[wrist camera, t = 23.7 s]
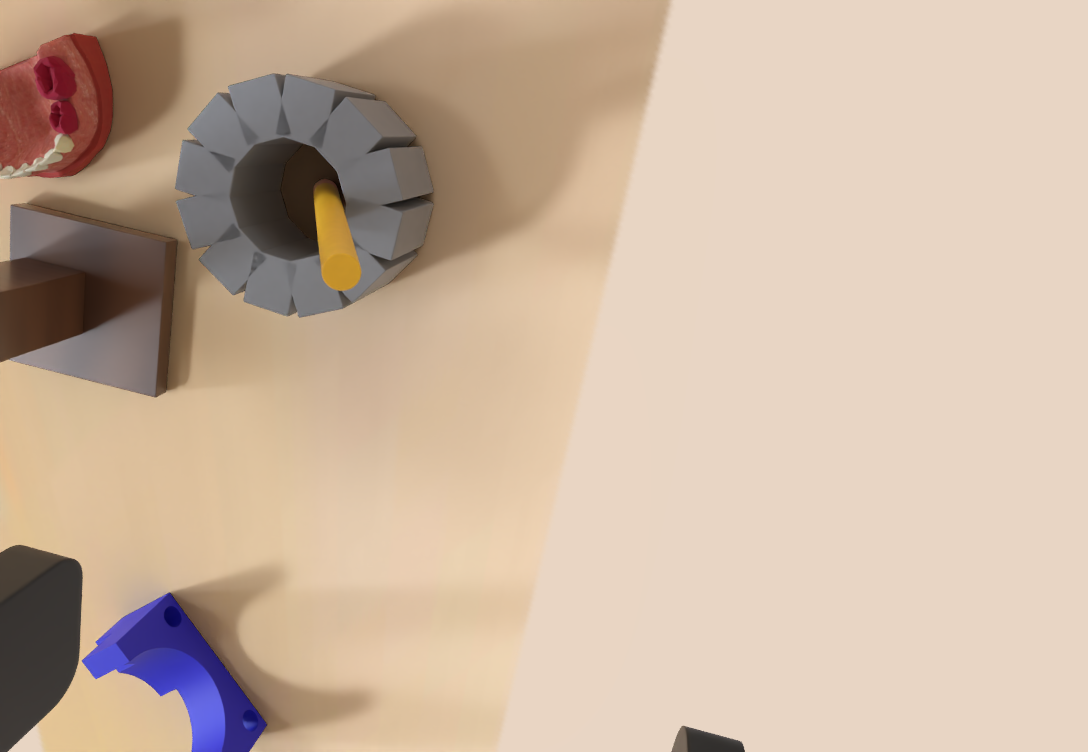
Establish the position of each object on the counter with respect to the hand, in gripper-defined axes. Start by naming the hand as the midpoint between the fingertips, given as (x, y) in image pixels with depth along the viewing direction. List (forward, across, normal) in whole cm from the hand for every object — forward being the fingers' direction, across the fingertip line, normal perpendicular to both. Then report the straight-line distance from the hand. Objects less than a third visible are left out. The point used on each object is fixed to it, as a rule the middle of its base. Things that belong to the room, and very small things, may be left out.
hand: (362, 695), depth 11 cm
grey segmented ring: (+38, +16, 0) cm, 41 cm away
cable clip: (+38, +21, +35) cm, 56 cm away
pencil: (+29, +11, -1) cm, 31 cm away
